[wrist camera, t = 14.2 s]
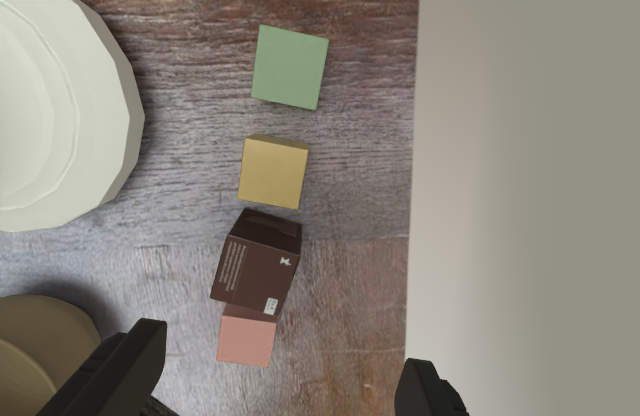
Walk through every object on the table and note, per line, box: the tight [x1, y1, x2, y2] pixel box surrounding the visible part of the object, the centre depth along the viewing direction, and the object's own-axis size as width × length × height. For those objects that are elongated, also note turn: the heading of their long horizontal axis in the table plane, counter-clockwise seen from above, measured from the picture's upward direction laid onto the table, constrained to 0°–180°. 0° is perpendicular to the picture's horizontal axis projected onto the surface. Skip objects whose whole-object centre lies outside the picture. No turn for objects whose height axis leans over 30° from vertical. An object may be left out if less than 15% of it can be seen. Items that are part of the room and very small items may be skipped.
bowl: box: [0, 295, 101, 416], centre depth 31 cm, size 13×13×10 cm
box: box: [210, 208, 302, 316], centre depth 30 cm, size 6×6×7 cm
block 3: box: [216, 303, 278, 368], centre depth 33 cm, size 5×5×5 cm
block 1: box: [250, 24, 329, 111], centre depth 27 cm, size 5×5×5 cm
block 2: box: [237, 134, 309, 210], centre depth 29 cm, size 5×5×5 cm
